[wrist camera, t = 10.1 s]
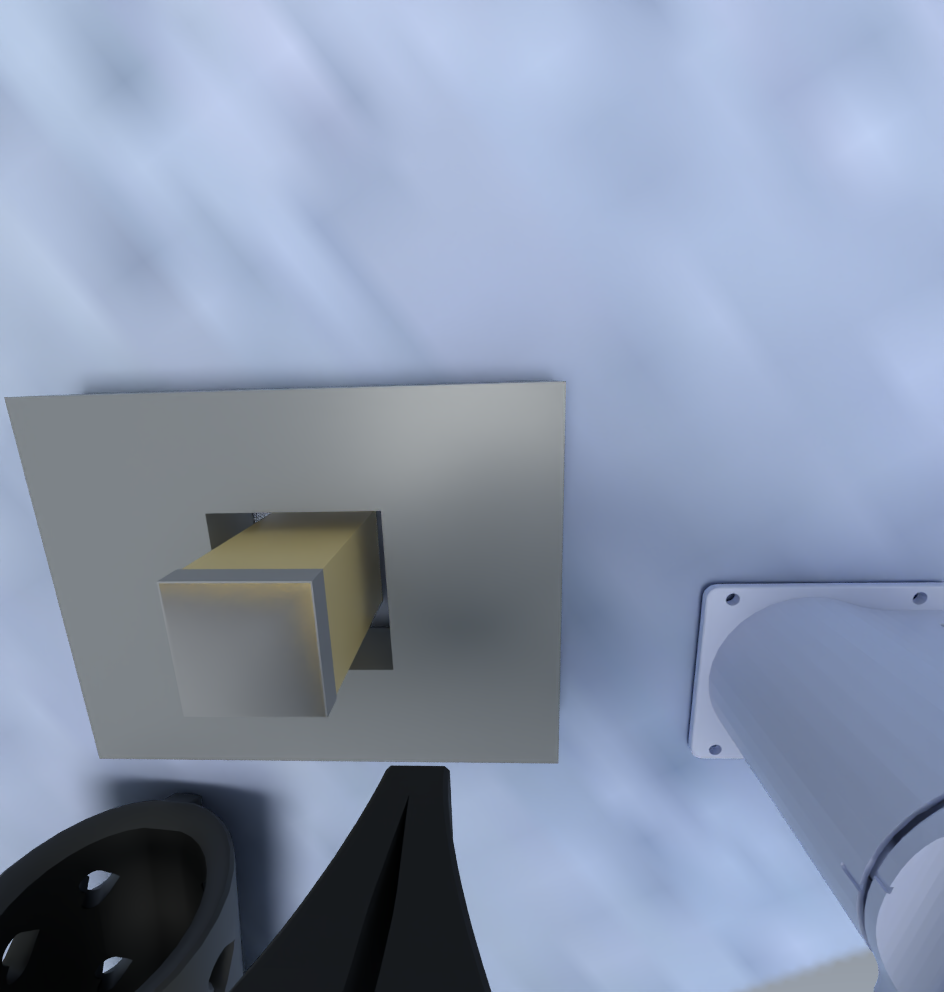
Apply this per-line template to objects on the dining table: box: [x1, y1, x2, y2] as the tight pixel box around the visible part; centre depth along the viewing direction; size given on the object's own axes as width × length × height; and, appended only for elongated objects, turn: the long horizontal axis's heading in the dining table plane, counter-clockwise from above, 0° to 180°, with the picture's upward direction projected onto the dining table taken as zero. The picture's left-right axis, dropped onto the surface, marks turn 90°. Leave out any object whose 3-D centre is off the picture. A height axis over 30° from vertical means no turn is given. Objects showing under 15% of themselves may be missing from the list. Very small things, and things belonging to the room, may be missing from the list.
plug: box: [157, 511, 383, 718], centre depth 16 cm, size 4×4×7 cm
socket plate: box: [4, 381, 566, 763], centre depth 18 cm, size 18×14×3 cm
